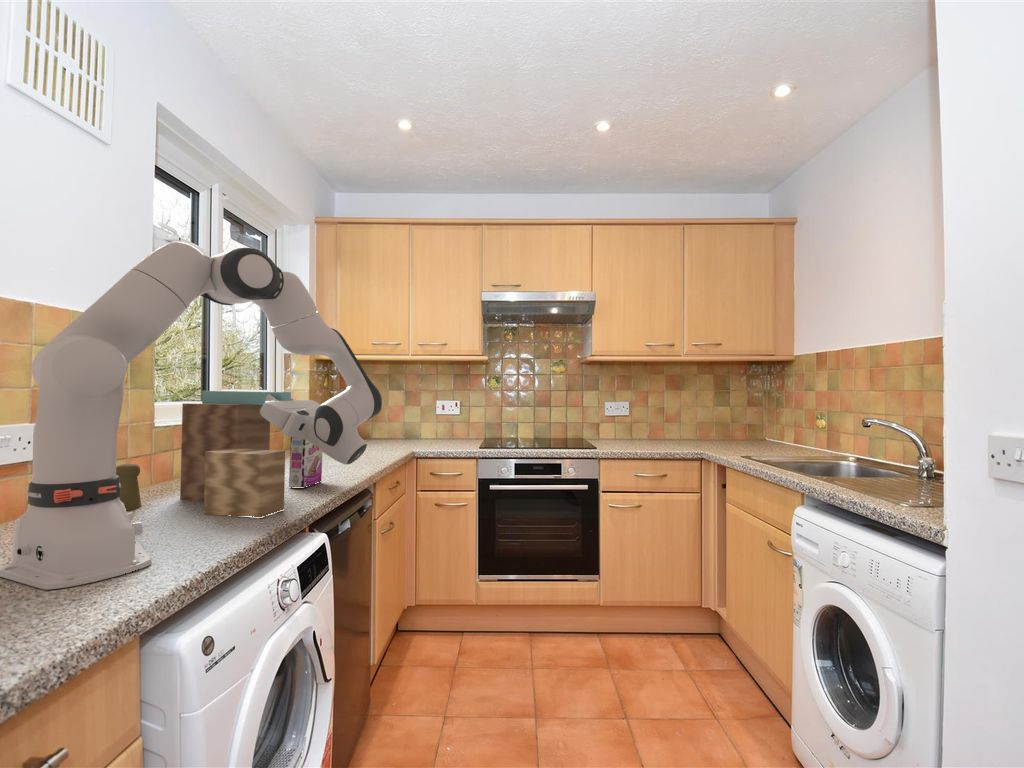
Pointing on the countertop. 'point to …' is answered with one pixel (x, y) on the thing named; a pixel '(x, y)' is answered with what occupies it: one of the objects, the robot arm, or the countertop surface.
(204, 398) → the teal bar
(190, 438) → the walnut stand
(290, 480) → the candy bar box
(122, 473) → the cork
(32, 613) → the countertop surface
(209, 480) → the oak block
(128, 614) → the countertop surface
